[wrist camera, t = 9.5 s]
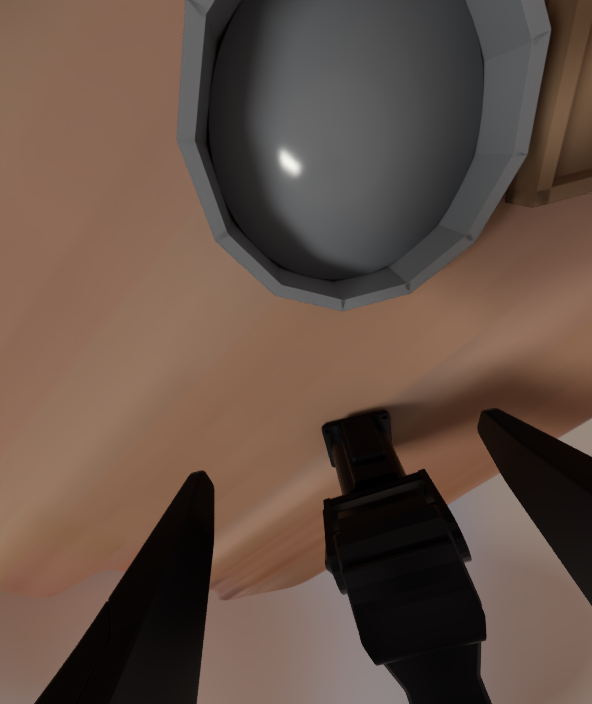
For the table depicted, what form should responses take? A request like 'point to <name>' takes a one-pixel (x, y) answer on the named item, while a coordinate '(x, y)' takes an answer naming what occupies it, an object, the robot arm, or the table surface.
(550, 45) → the tray
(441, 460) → the table surface
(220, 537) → the table surface
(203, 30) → the bowl
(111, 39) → the table surface
